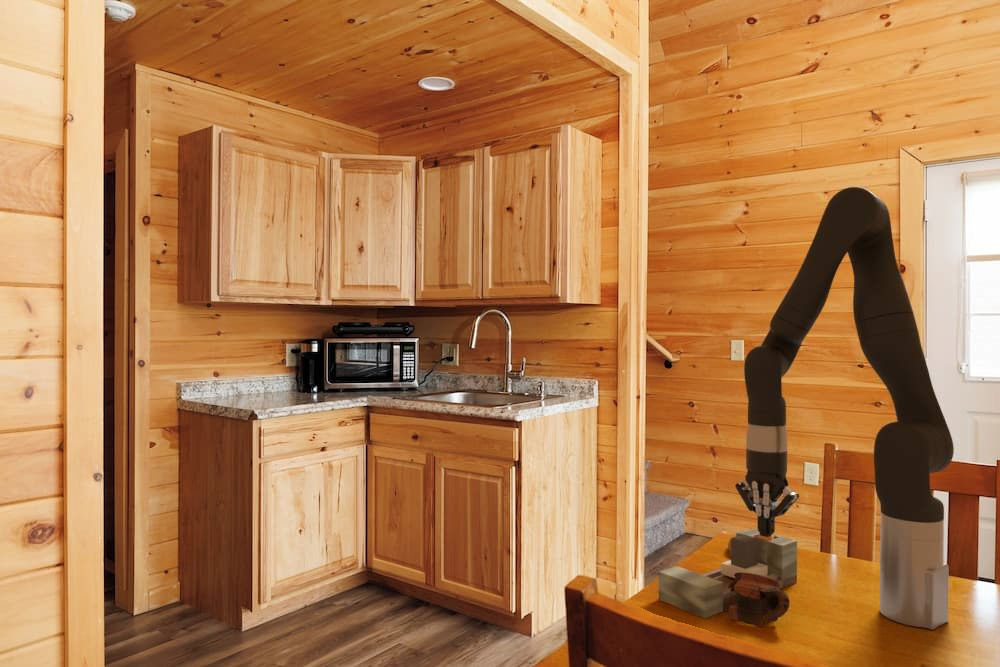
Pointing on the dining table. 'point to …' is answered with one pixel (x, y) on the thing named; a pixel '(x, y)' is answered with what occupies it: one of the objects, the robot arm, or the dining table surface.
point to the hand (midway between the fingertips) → (765, 535)
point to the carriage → (743, 557)
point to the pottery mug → (757, 599)
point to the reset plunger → (766, 537)
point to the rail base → (726, 578)
